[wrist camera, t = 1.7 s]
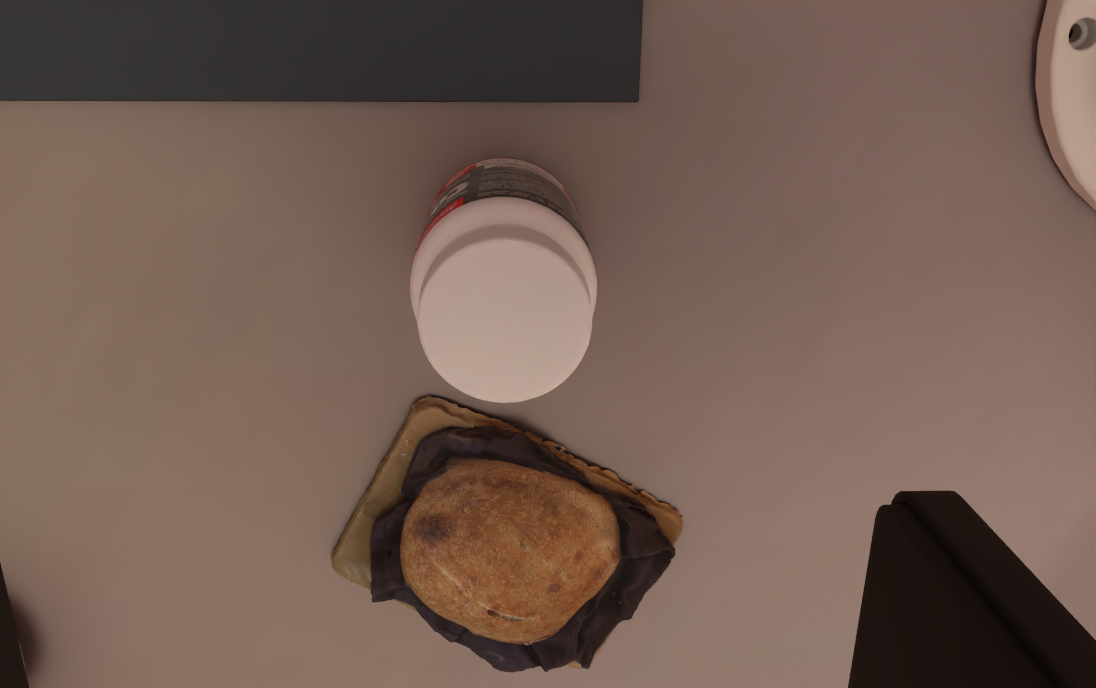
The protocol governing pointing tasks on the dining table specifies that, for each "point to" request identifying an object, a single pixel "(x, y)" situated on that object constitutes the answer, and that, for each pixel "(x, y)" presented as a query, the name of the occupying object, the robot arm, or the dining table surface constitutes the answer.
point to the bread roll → (504, 540)
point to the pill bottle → (503, 282)
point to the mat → (321, 50)
